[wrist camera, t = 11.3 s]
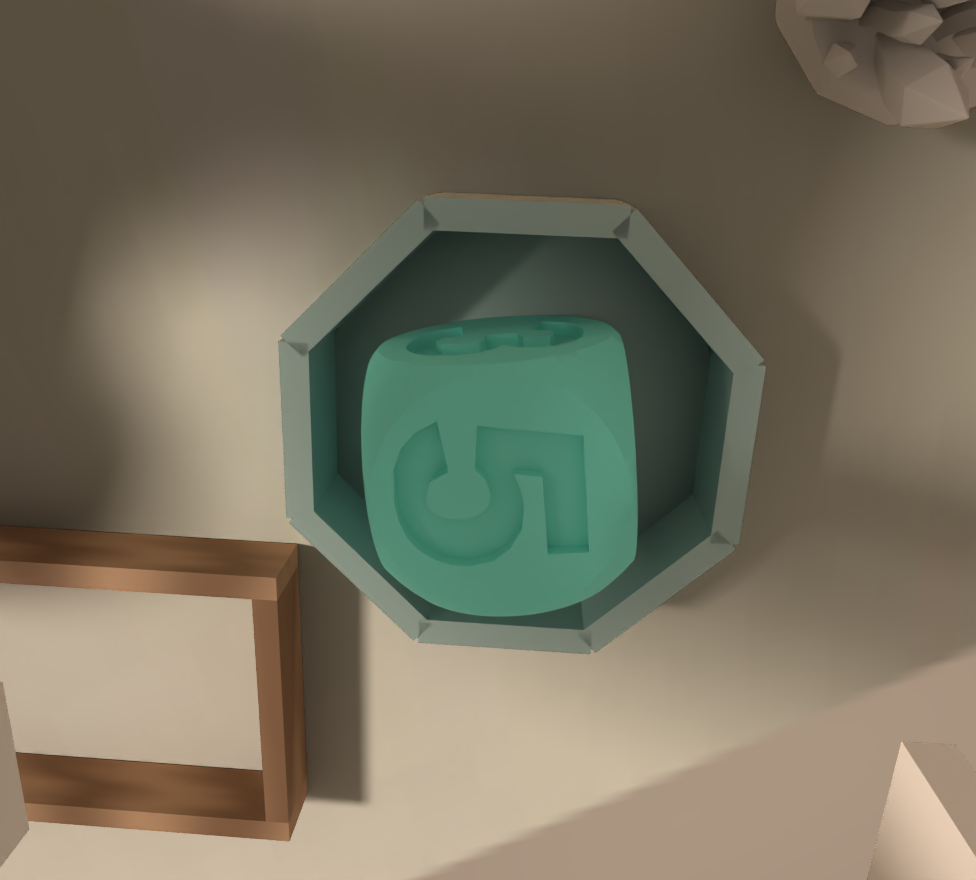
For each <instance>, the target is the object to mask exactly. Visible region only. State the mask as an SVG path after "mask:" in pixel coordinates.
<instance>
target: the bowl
mask: <svg viewBox="0 0 976 880" xmlns="http://www.w3.org/2000/svg"><path fill="white" fill-rule="evenodd" d="M523 315H557V316H573V317H582V318H589V319H594V320H598V321H601V322H604V323H607V324H609V325H610V326H612V327H613V328H614V329H615V330H616V331H617V332H618V333H619V334H620V335H621V338H622V341H623V345H624V349H625V354H626V360H627V367H628V374H629V382H630V390H631V400H632V410H633V422H634V435H635V450H636V469H637V500H638V528H637V547H636V555H635V559H634V561H633V562H632V563H631V564H630V565H629V566H628V567H627V568H626V569H625V570H624V571H623V572H622V573H621V574H620V575H619V576H618V577H617V578H616V579H615V580H613V581H612V582H611V583H610V584H609V585H608V586H606V587H605V588H604V589H602V590H601V591H600V592H598V593H596V594H595V595H593V596H591V597H589V598H587V599H585V600H583V601H581V602H578V603H576V604H573V605H570V606H567V607H564V608H560V609H557V610H553V611H548V612H543V613H538V614H531V615H522V616H505V617H495V616H479V615H471V614H464V613H459V612H455V611H451V610H448V609H445V608H442V607H439V606H437V605H434V604H432V603H430V602H428V601H427V600H425V599H423V598H422V597H420V596H418V595H417V594H415V593H413V592H412V591H411V590H409V589H408V588H407V587H405V586H404V585H403V584H401V583H400V582H399V581H397V580H396V579H395V578H394V577H393V576H392V575H391V574H390V573H389V572H388V571H387V570H386V569H385V568H384V567H383V565H382V563H381V561H380V559H379V557H378V554H377V551H376V548H375V545H374V541H373V537H372V533H371V529H370V524H369V519H368V513H367V507H366V499H365V491H364V482H363V469H362V449H361V418H362V400H363V390H364V383H365V377H366V372H367V368H368V364H369V362H370V359H371V357H372V355H373V354H374V352H375V351H376V350H377V349H378V348H379V346H380V345H381V344H382V343H384V342H385V341H387V340H389V339H391V338H393V337H395V336H398V335H401V334H403V333H407V332H410V331H413V330H417V329H421V328H425V327H430V326H434V325H440V324H445V323H451V322H457V321H464V320H472V319H481V318H491V317H504V316H523ZM281 337H282V339H281V340H280V341H278V345H279V367H280V389H281V411H282V433H283V454H284V476H285V498H286V518H292V519H291V520H290V522H289V523H290V524H291V525H292V526H293V527H294V528H295V529H296V530H297V531H298V532H299V533H300V534H301V535H302V536H303V537H305V538H306V539H307V540H308V541H309V542H310V543H311V544H312V545H313V546H314V547H315V548H316V549H317V550H318V551H319V552H320V553H321V554H323V555H324V556H325V557H326V558H327V559H328V560H329V561H330V562H331V563H332V564H333V565H334V566H335V567H336V568H337V569H338V570H339V571H340V572H342V573H343V574H344V575H345V576H346V577H347V578H348V579H349V580H350V581H351V582H352V583H353V584H354V585H355V586H356V587H357V588H358V589H359V590H361V591H362V592H363V593H364V594H365V595H366V596H367V597H368V598H369V599H370V600H371V601H372V602H373V603H374V604H375V605H376V606H377V607H378V608H380V609H381V610H382V611H383V612H384V613H385V614H386V615H387V616H388V617H389V618H390V619H391V620H392V621H393V622H394V623H395V624H396V625H398V626H399V627H400V628H401V629H402V630H403V631H404V632H405V633H406V634H407V635H408V636H409V637H410V638H411V639H412V640H415V639H416V638H417V637H418V636H419V637H418V643H429V644H444V645H459V646H474V647H489V648H504V649H519V650H534V651H549V652H564V653H579V654H590V650H591V649H592V650H593V651H594V652H595V653H596V652H597V651H598V650H600V649H601V648H602V647H604V646H605V645H607V644H608V643H609V642H611V641H612V640H613V639H615V638H616V637H617V636H619V635H620V634H622V633H623V632H624V631H626V630H627V629H628V628H630V627H631V626H632V625H634V624H635V623H637V622H638V621H639V620H641V619H642V618H643V617H645V616H646V615H647V614H649V613H650V612H652V611H653V610H654V609H656V608H657V607H658V606H660V605H661V604H662V603H664V602H665V601H667V600H668V599H669V598H671V597H672V596H673V595H675V594H676V593H677V592H679V591H680V590H682V589H683V588H684V587H686V586H687V585H688V584H690V583H691V582H692V581H694V580H695V579H697V578H698V577H699V576H701V575H702V574H703V573H705V572H706V571H707V570H709V569H710V568H712V567H713V566H714V565H716V564H717V563H718V562H720V561H721V560H723V559H724V558H725V557H727V556H728V555H729V554H731V553H732V552H733V551H735V550H736V549H735V547H734V545H739V542H740V535H741V529H742V522H743V515H744V509H745V502H746V496H747V489H748V483H749V476H750V469H751V463H752V456H753V450H754V443H755V437H756V430H757V424H758V417H759V410H760V404H761V397H762V391H763V384H764V378H765V371H766V365H765V364H763V363H762V362H763V361H764V359H763V358H762V356H761V355H760V354H759V353H758V352H757V351H756V349H755V348H754V347H753V346H752V345H751V343H750V342H749V341H748V340H747V339H746V337H745V336H744V335H743V334H742V333H741V332H740V330H739V329H738V328H737V327H736V326H735V324H734V323H733V322H732V321H731V320H730V318H729V317H728V316H727V315H726V314H725V312H724V311H723V310H722V309H721V308H720V307H719V305H718V304H717V303H716V302H715V301H714V299H713V298H712V297H711V296H710V295H709V293H708V292H707V291H706V290H705V289H704V287H703V286H702V285H701V284H700V283H699V282H698V280H697V279H696V278H695V277H694V276H693V274H692V273H691V272H690V271H689V270H688V268H687V267H686V266H685V265H684V264H683V263H682V261H681V260H680V259H679V258H678V257H677V255H676V254H675V253H674V252H673V251H672V249H671V248H670V247H669V246H668V245H667V243H666V242H665V241H664V240H663V239H662V238H661V236H660V235H659V234H658V233H657V232H656V230H655V229H654V228H653V227H652V226H651V224H650V223H649V222H648V221H647V220H646V218H645V217H644V216H643V215H642V214H641V213H640V211H639V210H638V209H637V208H635V207H632V206H631V205H629V204H627V203H624V202H622V201H620V200H615V199H591V198H568V197H544V196H520V195H496V194H473V193H449V192H439V193H436V194H432V195H428V196H425V197H424V198H420V199H417V200H416V201H415V202H414V203H413V204H412V205H411V206H410V207H409V208H408V209H407V210H406V211H405V212H404V213H403V214H402V215H401V216H400V217H399V218H398V219H397V220H396V221H395V222H394V223H393V224H392V225H391V226H390V227H389V228H388V229H387V230H386V231H385V232H384V233H383V234H382V235H381V236H380V237H379V238H378V239H377V240H376V241H375V242H374V243H373V244H372V245H371V246H370V247H369V248H368V249H367V250H366V251H365V252H364V253H363V254H362V255H361V256H360V257H359V258H358V259H357V260H356V261H355V262H354V263H353V264H352V265H351V266H350V267H349V268H348V269H347V270H346V271H345V272H344V273H343V274H342V275H341V276H340V277H339V278H338V279H337V280H336V281H335V282H334V283H333V284H332V285H331V286H330V287H329V288H328V289H327V290H326V291H325V292H324V293H323V294H322V295H321V296H320V297H319V298H318V299H317V300H316V301H315V302H314V303H313V304H312V305H311V306H310V307H309V308H308V309H307V310H306V311H305V312H304V313H303V314H302V315H301V316H300V317H299V318H298V319H297V320H296V321H295V322H294V323H293V324H292V325H291V326H290V327H289V328H288V329H287V330H286V331H285V332H284V333H283V334H282V335H281Z"/></svg>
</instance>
